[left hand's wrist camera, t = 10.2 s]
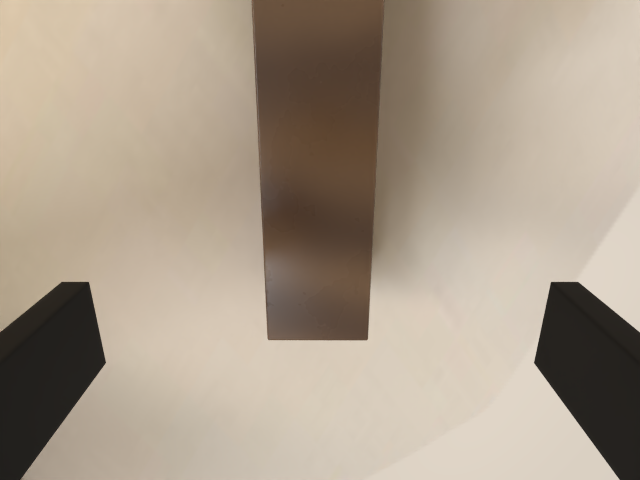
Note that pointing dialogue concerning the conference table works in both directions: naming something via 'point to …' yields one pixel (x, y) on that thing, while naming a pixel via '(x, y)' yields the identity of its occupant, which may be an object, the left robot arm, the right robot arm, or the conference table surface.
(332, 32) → the beam
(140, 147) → the conference table surface
